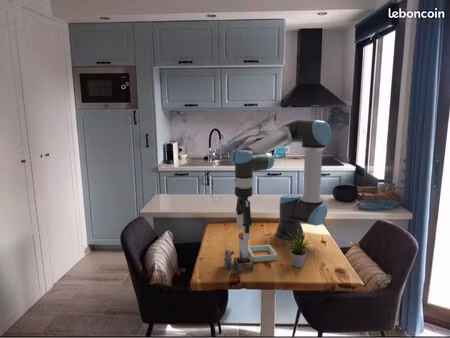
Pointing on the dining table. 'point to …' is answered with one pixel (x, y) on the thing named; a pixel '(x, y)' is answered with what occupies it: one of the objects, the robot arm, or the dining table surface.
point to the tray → (262, 257)
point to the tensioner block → (237, 264)
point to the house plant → (298, 249)
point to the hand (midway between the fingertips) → (243, 233)
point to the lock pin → (243, 249)
